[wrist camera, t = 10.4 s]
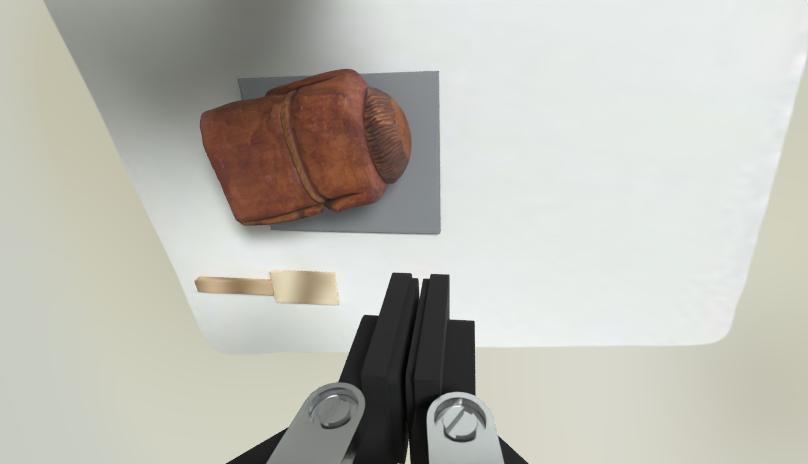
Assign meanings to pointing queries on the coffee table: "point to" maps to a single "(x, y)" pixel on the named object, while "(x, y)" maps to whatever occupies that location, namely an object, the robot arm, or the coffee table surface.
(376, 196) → the wooden figurine
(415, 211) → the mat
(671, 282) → the coffee table surface
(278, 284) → the turner
